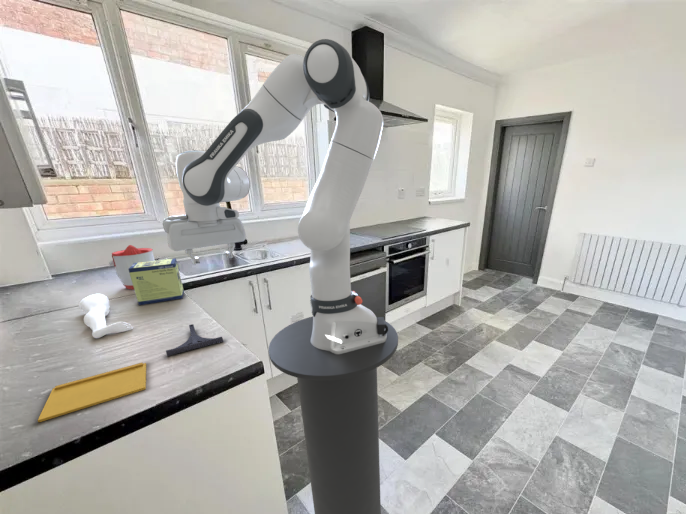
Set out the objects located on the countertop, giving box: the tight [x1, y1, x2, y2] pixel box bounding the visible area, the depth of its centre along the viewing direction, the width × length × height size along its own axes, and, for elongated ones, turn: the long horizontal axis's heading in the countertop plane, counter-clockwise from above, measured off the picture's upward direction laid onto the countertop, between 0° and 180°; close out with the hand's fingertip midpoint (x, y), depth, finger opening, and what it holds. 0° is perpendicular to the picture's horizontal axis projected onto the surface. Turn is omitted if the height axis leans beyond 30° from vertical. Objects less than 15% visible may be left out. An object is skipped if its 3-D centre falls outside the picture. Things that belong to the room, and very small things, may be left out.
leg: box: [77, 293, 134, 339], centre depth 110 cm, size 7×35×10 cm
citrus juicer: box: [108, 244, 156, 291], centre depth 144 cm, size 16×17×20 cm
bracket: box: [165, 323, 224, 357], centre depth 96 cm, size 14×15×3 cm
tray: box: [37, 362, 147, 423], centre depth 73 cm, size 18×13×1 cm
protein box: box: [128, 258, 185, 306], centre depth 129 cm, size 10×16×16 cm
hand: (213, 260), depth 92 cm, fingers open, 8 cm apart
